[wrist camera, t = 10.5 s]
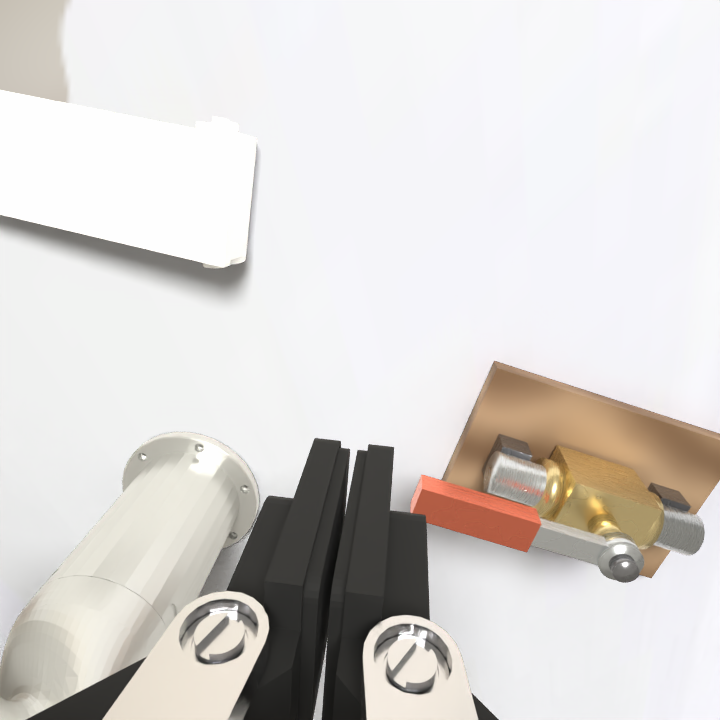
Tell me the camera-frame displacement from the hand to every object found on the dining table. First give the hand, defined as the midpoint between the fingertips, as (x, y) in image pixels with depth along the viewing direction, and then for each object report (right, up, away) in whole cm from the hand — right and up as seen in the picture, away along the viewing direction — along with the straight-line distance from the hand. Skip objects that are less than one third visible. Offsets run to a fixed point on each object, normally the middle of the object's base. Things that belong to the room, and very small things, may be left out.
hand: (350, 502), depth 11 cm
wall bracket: (-21, +18, +28) cm, 40 cm away
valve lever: (+11, -8, +24) cm, 28 cm away
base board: (+18, -6, +33) cm, 38 cm away
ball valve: (+18, -7, +32) cm, 37 cm away
